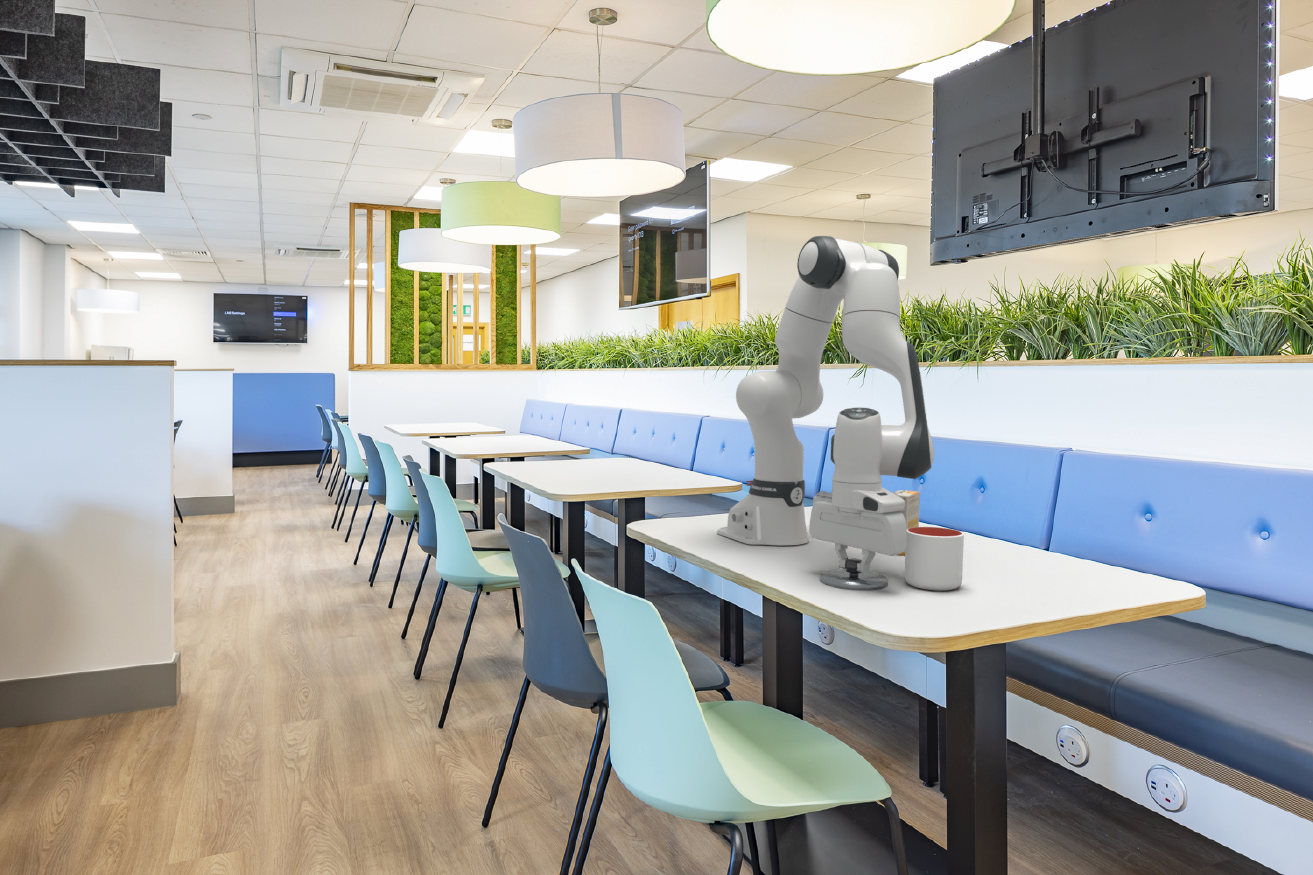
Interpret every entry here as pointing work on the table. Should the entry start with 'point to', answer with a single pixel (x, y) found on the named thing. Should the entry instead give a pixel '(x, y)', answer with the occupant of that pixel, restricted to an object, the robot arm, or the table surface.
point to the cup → (934, 558)
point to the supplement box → (910, 508)
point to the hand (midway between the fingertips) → (854, 570)
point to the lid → (853, 578)
